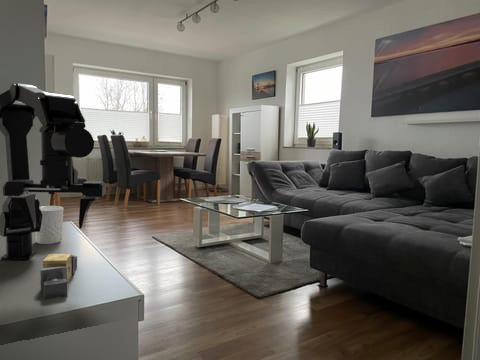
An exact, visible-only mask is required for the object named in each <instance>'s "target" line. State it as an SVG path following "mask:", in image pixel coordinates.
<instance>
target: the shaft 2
mask: <svg viewBox="0 0 480 360" xmlns="http://www.w3.org/2000/svg"><path fill="white" fill-rule="evenodd" d="M77 268H78V256H77V255H75V254H72V276H74V275H75V274H76V273H75V271H76V270H77Z"/></svg>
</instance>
